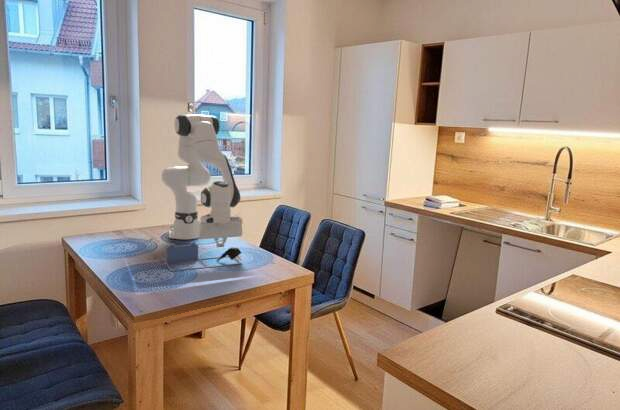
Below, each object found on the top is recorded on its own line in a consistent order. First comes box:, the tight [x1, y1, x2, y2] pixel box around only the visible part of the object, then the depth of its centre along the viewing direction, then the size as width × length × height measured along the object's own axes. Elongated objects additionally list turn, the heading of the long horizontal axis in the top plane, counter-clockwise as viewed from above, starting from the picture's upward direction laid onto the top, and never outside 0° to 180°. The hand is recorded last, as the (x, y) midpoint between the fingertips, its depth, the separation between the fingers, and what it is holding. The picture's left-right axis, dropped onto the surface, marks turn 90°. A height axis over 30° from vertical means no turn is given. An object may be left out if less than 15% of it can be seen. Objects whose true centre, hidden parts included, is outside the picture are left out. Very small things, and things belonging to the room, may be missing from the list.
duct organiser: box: [164, 241, 243, 272], centre depth 202 cm, size 15×32×8 cm, turn 118°
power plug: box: [216, 246, 243, 263], centre depth 204 cm, size 6×8×12 cm
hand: (220, 246), depth 204 cm, fingers closed
